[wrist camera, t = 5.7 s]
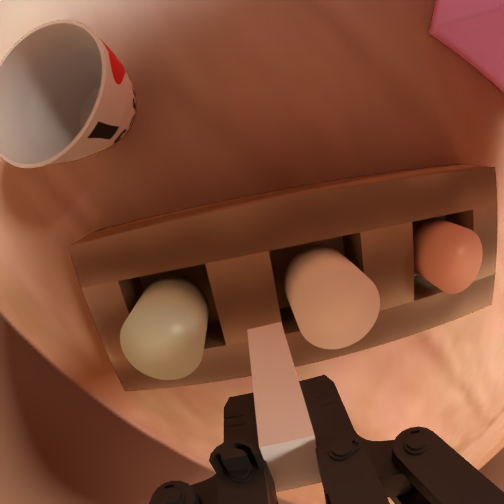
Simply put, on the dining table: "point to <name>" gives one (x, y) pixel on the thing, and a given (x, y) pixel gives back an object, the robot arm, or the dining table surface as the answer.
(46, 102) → the cup
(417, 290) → the brown wooden long block
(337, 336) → the peach rounded knob
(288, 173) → the dining table surface
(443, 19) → the pink table lamp
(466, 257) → the button terracotta
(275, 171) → the dining table surface
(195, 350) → the button sage
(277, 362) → the robot arm
